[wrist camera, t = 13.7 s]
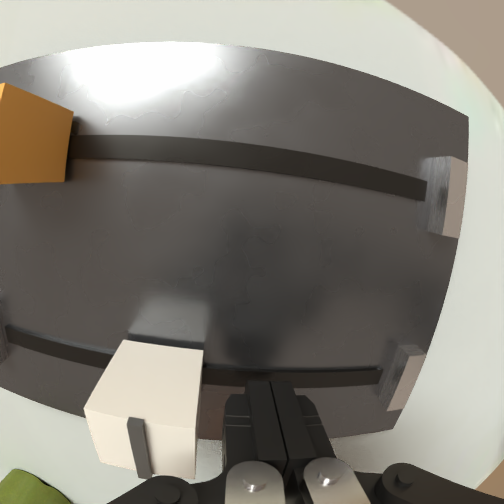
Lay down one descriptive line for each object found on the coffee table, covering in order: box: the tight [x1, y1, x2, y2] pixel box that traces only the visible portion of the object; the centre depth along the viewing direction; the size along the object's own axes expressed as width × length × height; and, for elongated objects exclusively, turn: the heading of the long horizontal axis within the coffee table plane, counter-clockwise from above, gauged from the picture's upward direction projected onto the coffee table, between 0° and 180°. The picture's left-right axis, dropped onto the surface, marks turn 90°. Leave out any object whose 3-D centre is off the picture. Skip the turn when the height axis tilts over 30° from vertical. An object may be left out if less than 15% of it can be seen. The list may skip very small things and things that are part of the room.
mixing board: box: [0, 42, 469, 440], centre depth 10 cm, size 22×16×3 cm
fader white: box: [84, 340, 203, 479], centre depth 8 cm, size 3×3×4 cm
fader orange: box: [0, 83, 74, 184], centre depth 6 cm, size 3×3×4 cm
